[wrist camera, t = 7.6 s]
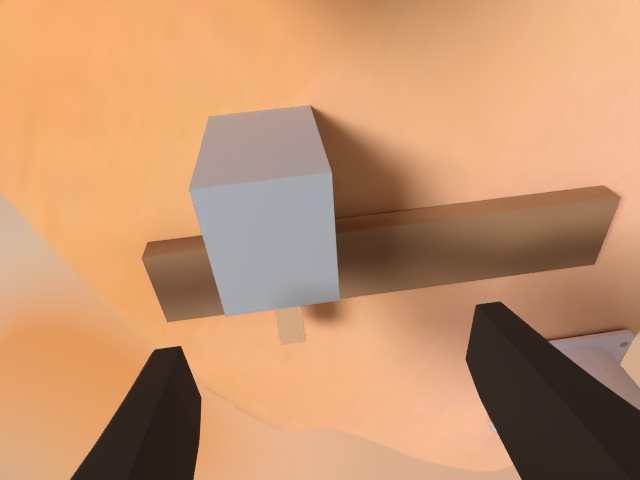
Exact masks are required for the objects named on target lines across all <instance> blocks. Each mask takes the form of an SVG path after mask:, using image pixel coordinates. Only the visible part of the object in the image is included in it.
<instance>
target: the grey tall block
mask: <svg viewBox="0 0 640 480" xmlns="http://www.w3.org/2000/svg"><path fill="white" fill-rule="evenodd" d="M189 191H190V194H191V198H192V201H193V205H194V208H195V212H196V215H197V219H198V222H199V226H200V229H201V233H202V236H203V240H204V243H205V247H206V250H207V254H208V257H209V261H210V264H211V268H212V271H213V275H214V278H215V282H216V285H217V289H218V292H219V296H220V299H221V303H222V306H223V310H224V313H225V316H233V315H240V314H247V313H254V312H262V311H269V310H275V314H276V319H277V325H278V330H279V335H280V341H281V345H284V344H291V343H298V342H305V341H306V338H305V330H304V323H303V315H302V308H301V306H305V305H312V304H319V303H327V302H334V301H340V297H339V281H338V265H337V249H336V232H335V216H334V200H333V184H332V171H331V168H330V165H329V162H328V159H327V156H326V153H325V150H324V146H323V143H322V140H321V137H320V134H319V131H318V128H317V125H316V122H315V119H314V116H313V112H312V109H311V106H310V105H309V106H300V107H291V108H282V109H273V110H264V111H255V112H246V113H237V114H228V115H219V116H210V117H209V118H208V121H207V125H206V129H205V133H204V136H203V140H202V144H201V147H200V151H199V155H198V159H197V162H196V166H195V170H194V173H193V177H192V181H191V185H190V188H189Z"/></svg>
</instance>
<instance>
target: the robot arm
mask: <svg viewBox="0 0 640 480" xmlns="http://www.w3.org/2000/svg"><path fill="white" fill-rule="evenodd" d="M633 339H634V334H633V333H632V332H631V331H630V330H620V331H613V332H606V333H600V334H593V335H586V336H579V337H572V338H565V339H558V340H551V341H547V340H546V339H545V338H544V337H542V336H541V335H540V334H539V333H538V332H536V331H535V330H534V329H533V328H531V327H530V326H529V325H528V324H527V323H525V322H524V321H523V320H522V319H521V318H519V317H518V316H517V315H516V314H515V313H513V312H512V311H511V310H510V309H509V308H507V307H506V306H505V305H504V304H503V303H501V302H493V303H486V304H479V305H476V308H475V313H474V318H473V323H472V328H471V334H470V339H469V344H468V349H467V355H466V362H467V364H468V367H469V370H470V373H471V376H472V378H473V381H474V384H475V386H476V389H477V392H478V394H479V397H480V399H481V401H482V403H483V405H484V407H485V409H486V411H487V413H488V415H489V417H490V419H491V423H490V428H491V430H492V431H493V432H497V433H498V435H499V437H500V439H501V441H502V443H503V444H504V446H505V448H506V450H507V452H508V454H509V456H510V458H511V460H512V462H513V464H514V466H515V468H516V470H517V471H518V474H519V475H520V477H521V479H522V480H640V388H639V387H638V386H637V385H636V383H635V382H634V381H633V380H632V379H631V377H630V376H629V375H628V374H627V373H626V372H625V370H624V369H623V368H622V367H621V366H620V363H621V361H622V359H623V357H624V356H625V354H626V352H627V350H628V348H629V346H630V344H631V342H632V341H633ZM200 421H201V396H200V393H199V391H198V388H197V385H196V383H195V380H194V378H193V375H192V373H191V370H190V368H189V365H188V363H187V360H186V358H185V355H184V353H183V350H182V348H181V346H177V347H170V348H163V349H156V350H154V351H153V353H152V354H151V355H150V357H149V359H148V360H147V362H146V364H145V366H144V367H143V369H142V371H141V372H140V374H139V376H138V377H137V379H136V381H135V382H134V384H133V386H132V387H131V389H130V391H129V392H128V394H127V395H126V397H125V399H124V400H123V402H122V403H121V405H120V407H119V408H118V410H117V411H116V413H115V415H114V416H113V418H112V419H111V421H110V422H109V424H108V425H107V427H106V428H105V430H104V431H103V433H102V434H101V436H100V438H99V439H98V441H97V442H96V444H95V445H94V446H93V448H92V449H91V451H90V452H89V454H88V455H87V456H86V458H85V459H84V461H83V462H82V464H81V465H80V466H79V468H78V469H77V471H76V472H75V473H74V475H73V476H72V478H71V479H70V480H193V479H194V472H195V465H196V459H197V453H198V446H199V438H200Z"/></svg>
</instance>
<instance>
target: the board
mask: <svg viewBox="0 0 640 480" xmlns="http://www.w3.org/2000/svg"><path fill="white" fill-rule="evenodd" d="M620 198H621V197H619V196H618V195H616V194H615V193H614V192H612V191H611V190H609V189H608V188H607V187H605V186H596V187H588V188H580V189H572V190H564V191H556V192H548V193H540V194H532V195H524V196H516V197H508V198H500V199H492V200H484V201H476V202H468V203H460V204H452V205H444V206H436V207H428V208H420V209H412V210H404V211H396V212H388V213H380V214H372V215H364V216H356V217H348V218H340V219H335V232H336V249H337V265H338V281H339V297H340V299H342V298H350V297H357V296H365V295H372V294H379V293H387V292H394V291H401V290H409V289H416V288H424V287H431V286H438V285H446V284H453V283H460V282H468V281H475V280H483V279H490V278H497V277H505V276H512V275H519V274H527V273H534V272H542V271H549V270H556V269H564V268H571V267H578V266H586V265H593V264H595V262H596V259H597V257H598V254H599V252H600V249H601V247H602V244H603V241H604V239H605V236H606V234H607V231H608V229H609V226H610V224H611V221H612V219H613V216H614V214H615V211H616V209H617V206H618V203H619V201H620ZM142 260H143V263H144V265H145V268H146V270H147V273H148V275H149V278H150V280H151V283H152V285H153V288H154V290H155V293H156V295H157V298H158V300H159V303H160V305H161V308H162V310H163V313H164V315H165V318H166V320H167V322H173V321H180V320H187V319H195V318H202V317H210V316H217V315H224V314H225V313H224V310H223V306H222V303H221V299H220V296H219V292H218V289H217V285H216V282H215V278H214V275H213V271H212V268H211V264H210V261H209V257H208V254H207V250H206V247H205V243H204V240H203V236H195V237H187V238H179V239H171V240H163V241H155V242H148V243H147V245H146V248H145V251H144V254H143V256H142Z"/></svg>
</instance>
